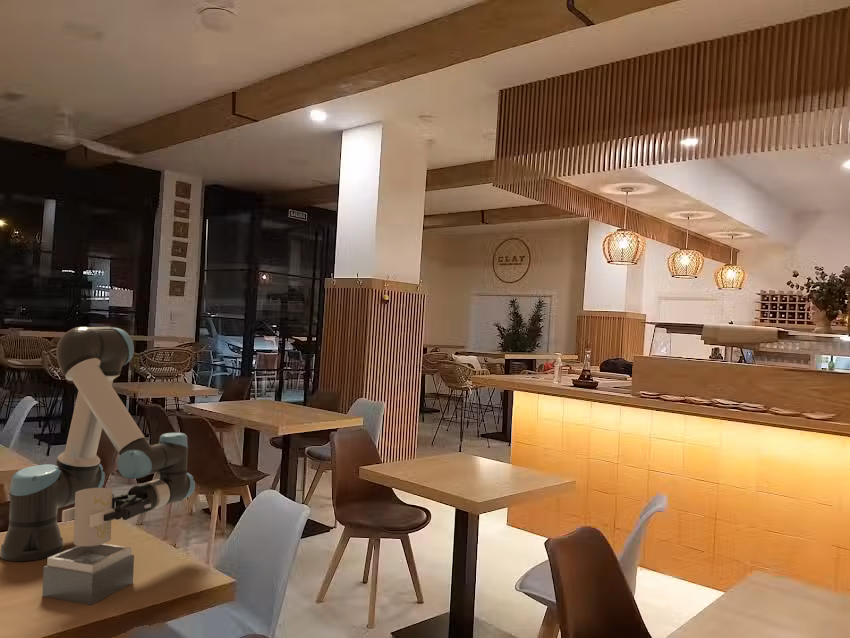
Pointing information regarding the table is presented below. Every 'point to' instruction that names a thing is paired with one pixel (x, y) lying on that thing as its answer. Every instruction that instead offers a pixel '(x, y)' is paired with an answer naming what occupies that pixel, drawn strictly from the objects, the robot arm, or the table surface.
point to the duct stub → (88, 573)
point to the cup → (88, 505)
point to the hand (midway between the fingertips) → (77, 518)
